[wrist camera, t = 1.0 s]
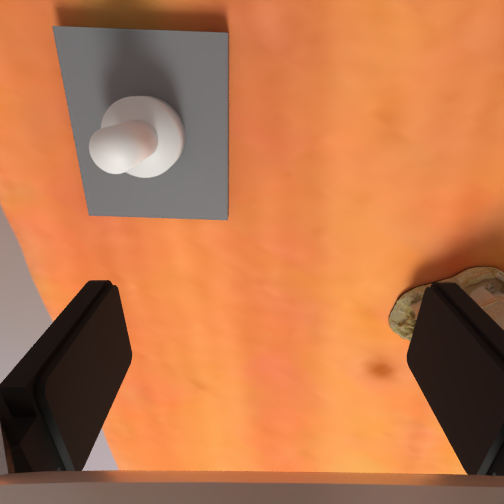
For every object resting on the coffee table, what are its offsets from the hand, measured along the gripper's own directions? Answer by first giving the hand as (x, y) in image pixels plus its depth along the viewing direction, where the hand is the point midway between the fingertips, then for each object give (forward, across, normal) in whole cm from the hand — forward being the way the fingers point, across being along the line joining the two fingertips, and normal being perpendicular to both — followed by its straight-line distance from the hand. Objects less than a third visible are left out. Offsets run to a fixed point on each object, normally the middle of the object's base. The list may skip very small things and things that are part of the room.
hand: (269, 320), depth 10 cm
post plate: (+25, +10, -2) cm, 27 cm away
